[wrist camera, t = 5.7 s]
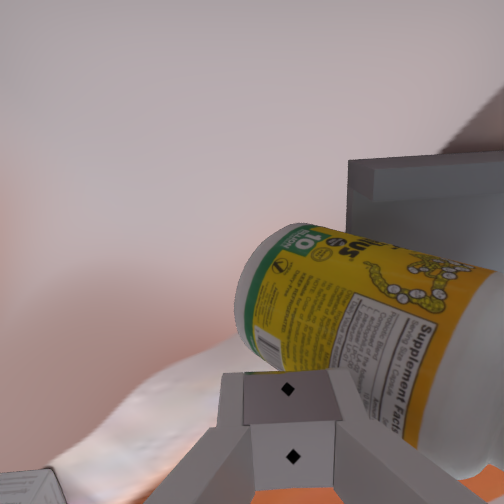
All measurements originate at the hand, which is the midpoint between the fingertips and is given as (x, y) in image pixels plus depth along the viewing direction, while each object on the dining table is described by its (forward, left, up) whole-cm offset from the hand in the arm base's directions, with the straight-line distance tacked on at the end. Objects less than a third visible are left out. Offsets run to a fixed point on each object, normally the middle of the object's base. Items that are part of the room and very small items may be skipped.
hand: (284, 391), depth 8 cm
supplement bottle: (0, 0, -6) cm, 6 cm away
